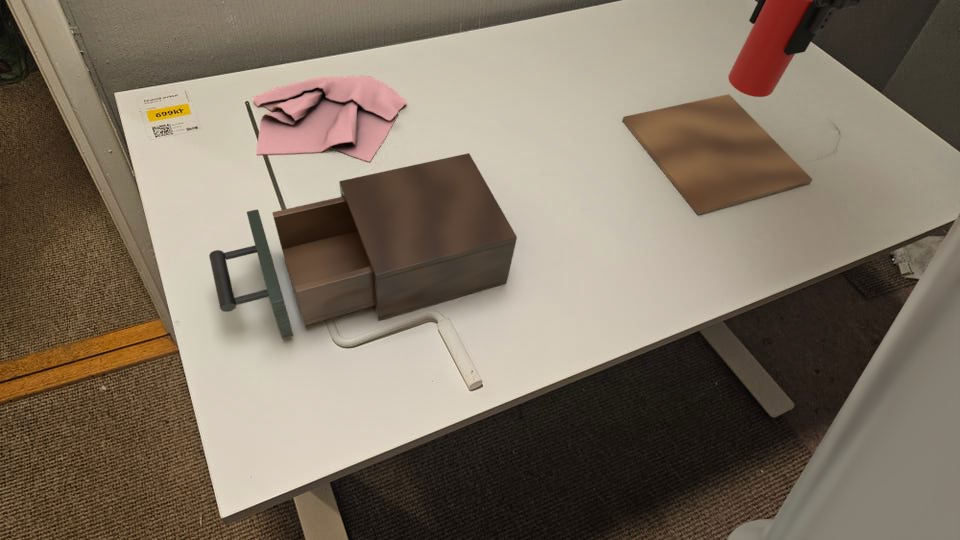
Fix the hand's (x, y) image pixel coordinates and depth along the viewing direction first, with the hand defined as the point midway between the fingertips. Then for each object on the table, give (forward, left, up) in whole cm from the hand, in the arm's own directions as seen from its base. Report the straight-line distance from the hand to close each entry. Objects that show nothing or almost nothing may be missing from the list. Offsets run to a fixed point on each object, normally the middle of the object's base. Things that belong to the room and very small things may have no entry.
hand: (776, 35), depth 75 cm
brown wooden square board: (0, 0, -19) cm, 19 cm away
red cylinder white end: (0, 0, -7) cm, 7 cm away
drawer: (-5, +60, -18) cm, 63 cm away
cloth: (+23, +52, -19) cm, 60 cm away
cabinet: (-5, +47, -19) cm, 51 cm away
